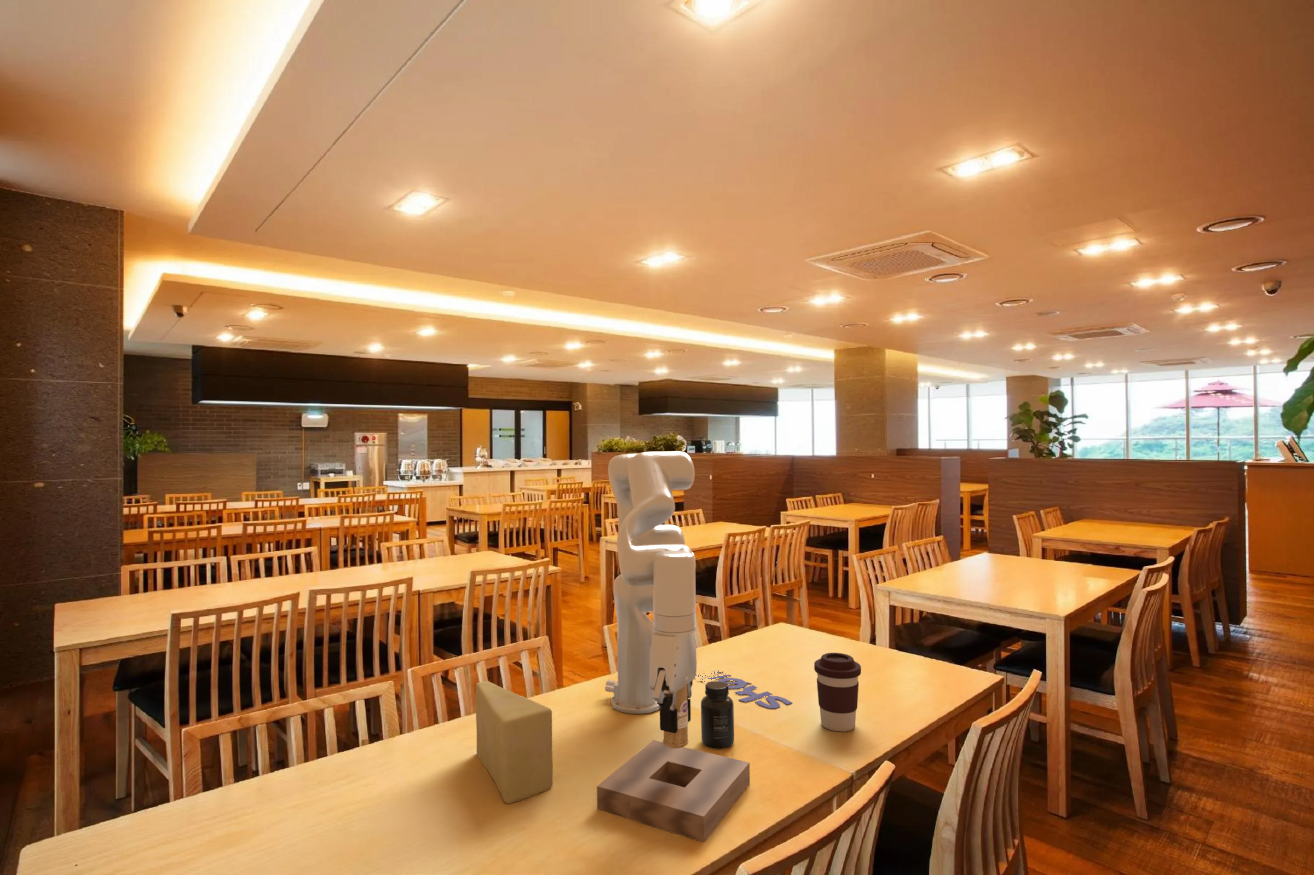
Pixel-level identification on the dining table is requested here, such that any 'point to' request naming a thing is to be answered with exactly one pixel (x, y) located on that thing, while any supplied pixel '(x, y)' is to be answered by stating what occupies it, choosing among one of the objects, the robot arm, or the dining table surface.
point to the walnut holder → (675, 789)
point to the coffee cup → (837, 690)
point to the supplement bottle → (717, 716)
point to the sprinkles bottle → (679, 721)
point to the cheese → (514, 741)
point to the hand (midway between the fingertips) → (675, 724)
